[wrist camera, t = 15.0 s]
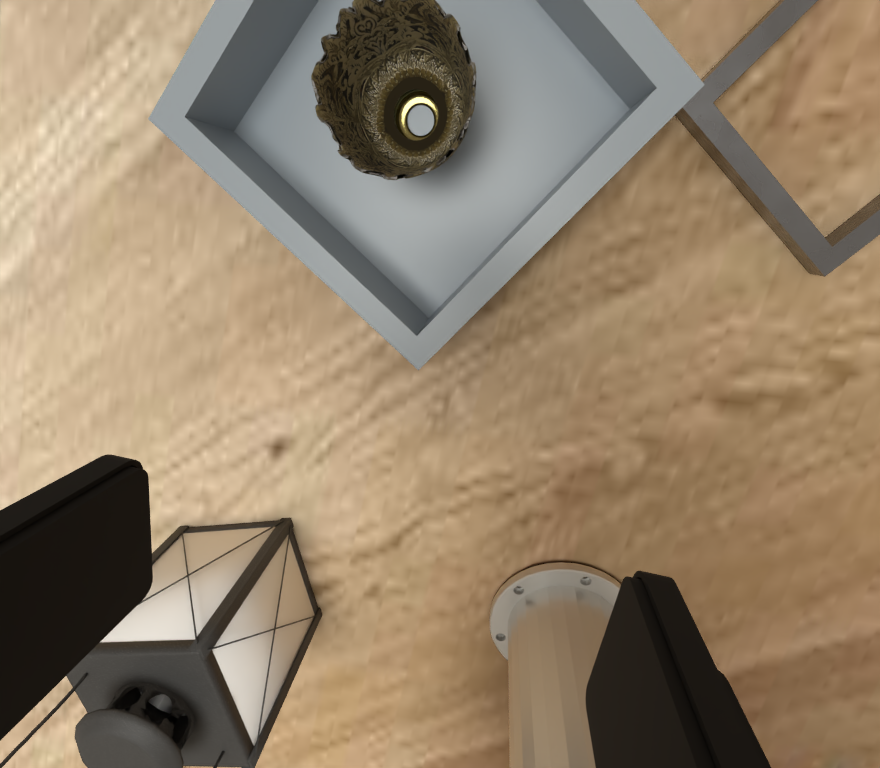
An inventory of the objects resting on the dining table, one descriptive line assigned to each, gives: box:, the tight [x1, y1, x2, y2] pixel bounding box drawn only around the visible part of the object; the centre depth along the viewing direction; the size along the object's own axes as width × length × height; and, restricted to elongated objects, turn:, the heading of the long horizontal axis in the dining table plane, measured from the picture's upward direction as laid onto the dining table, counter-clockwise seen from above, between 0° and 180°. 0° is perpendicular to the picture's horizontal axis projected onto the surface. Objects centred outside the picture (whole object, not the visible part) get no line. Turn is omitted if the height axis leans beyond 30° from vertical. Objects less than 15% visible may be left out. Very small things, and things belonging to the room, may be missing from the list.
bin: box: [149, 0, 705, 370], centre depth 26 cm, size 20×20×6 cm
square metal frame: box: [675, 0, 880, 276], centre depth 26 cm, size 13×13×2 cm
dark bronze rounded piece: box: [311, 0, 476, 180], centre depth 25 cm, size 8×7×8 cm
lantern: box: [0, 518, 322, 768], centre depth 31 cm, size 11×11×28 cm
